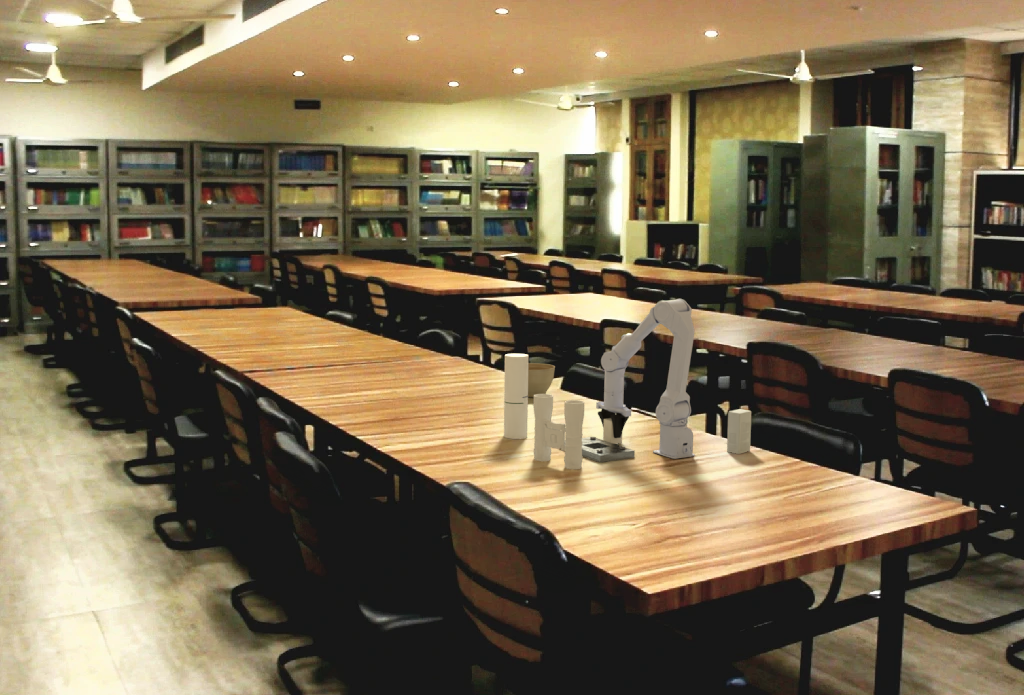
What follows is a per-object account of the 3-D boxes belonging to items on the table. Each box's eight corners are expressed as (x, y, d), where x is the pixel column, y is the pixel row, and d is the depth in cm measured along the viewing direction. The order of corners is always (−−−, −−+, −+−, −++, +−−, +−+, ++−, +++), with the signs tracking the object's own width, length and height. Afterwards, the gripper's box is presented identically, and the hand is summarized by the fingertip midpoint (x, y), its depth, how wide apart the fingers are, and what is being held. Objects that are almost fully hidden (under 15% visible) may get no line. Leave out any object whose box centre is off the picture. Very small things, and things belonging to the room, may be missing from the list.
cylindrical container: (532, 436, 325) (533, 355, 321) (516, 440, 320) (517, 357, 316) (514, 432, 330) (516, 352, 326) (498, 436, 324) (499, 355, 321)
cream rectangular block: (621, 443, 317) (622, 420, 316) (611, 444, 315) (611, 421, 314) (613, 440, 321) (614, 417, 320) (603, 441, 319) (603, 418, 318)
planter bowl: (527, 389, 404) (527, 361, 403) (562, 394, 395) (563, 365, 393) (501, 395, 391) (502, 366, 390) (538, 401, 382) (538, 371, 380)
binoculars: (528, 459, 297) (529, 395, 294) (542, 455, 300) (543, 393, 298) (573, 470, 284) (574, 404, 282) (587, 467, 288) (588, 402, 286)
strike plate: (634, 457, 300) (634, 448, 299) (600, 462, 294) (600, 453, 293) (592, 443, 317) (592, 434, 316) (559, 447, 310) (559, 439, 310)
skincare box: (737, 448, 312) (739, 408, 311) (750, 451, 309) (752, 410, 308) (726, 451, 308) (727, 411, 306) (738, 454, 305) (740, 413, 303)
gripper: (639, 394, 312) (638, 439, 314) (609, 386, 324) (608, 430, 326) (620, 396, 308) (619, 442, 310) (591, 388, 320) (590, 432, 322)
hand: (612, 436), depth 318 cm, fingers closed on cream rectangular block, 4 cm apart
